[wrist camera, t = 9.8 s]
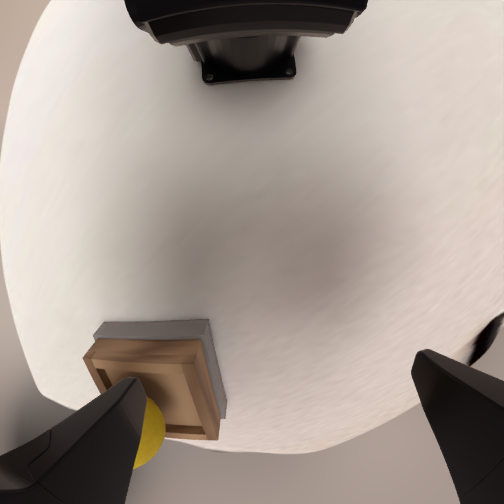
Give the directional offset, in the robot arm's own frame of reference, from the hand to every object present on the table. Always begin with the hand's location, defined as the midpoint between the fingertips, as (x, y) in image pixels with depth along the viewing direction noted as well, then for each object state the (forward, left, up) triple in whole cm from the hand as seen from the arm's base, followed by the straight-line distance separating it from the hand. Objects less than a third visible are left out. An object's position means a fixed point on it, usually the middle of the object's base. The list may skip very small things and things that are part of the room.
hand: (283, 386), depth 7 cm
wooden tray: (+10, +10, -11) cm, 17 cm away
